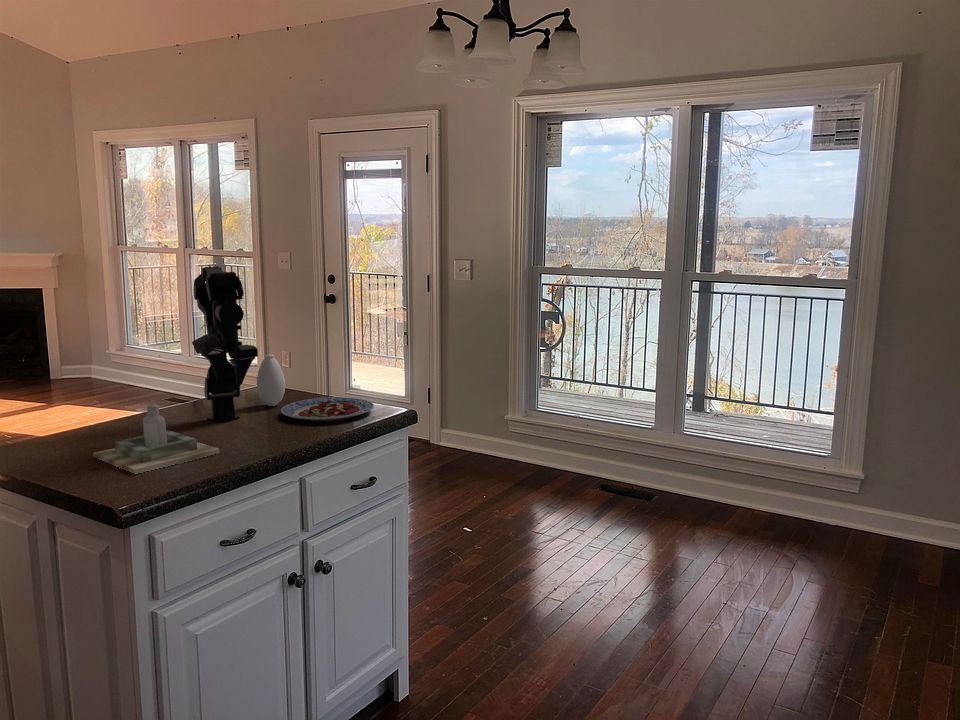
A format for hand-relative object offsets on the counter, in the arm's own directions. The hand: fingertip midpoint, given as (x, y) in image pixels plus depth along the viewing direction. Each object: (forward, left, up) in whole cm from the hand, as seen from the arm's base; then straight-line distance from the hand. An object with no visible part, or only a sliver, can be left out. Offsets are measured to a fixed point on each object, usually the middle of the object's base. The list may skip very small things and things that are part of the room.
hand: (229, 382), depth 196 cm
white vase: (-17, +24, -13) cm, 32 cm away
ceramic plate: (+4, +28, -14) cm, 31 cm away
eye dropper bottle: (+5, -23, -12) cm, 26 cm away
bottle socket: (+5, -23, -13) cm, 27 cm away
